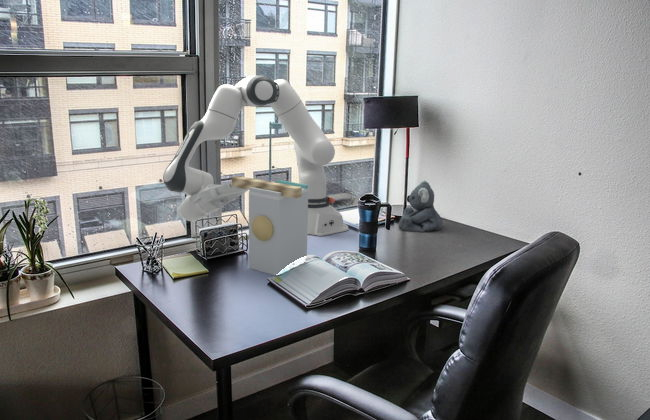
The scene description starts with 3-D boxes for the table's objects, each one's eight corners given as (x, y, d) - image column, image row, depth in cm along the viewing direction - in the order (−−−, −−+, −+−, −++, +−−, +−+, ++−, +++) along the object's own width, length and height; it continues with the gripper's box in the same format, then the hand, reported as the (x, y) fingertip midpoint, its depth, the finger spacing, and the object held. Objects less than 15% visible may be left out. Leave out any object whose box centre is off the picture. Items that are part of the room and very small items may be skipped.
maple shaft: (231, 186, 178) (231, 177, 177) (237, 184, 180) (237, 175, 179) (295, 198, 164) (296, 188, 164) (301, 196, 167) (301, 187, 166)
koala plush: (402, 220, 240) (405, 177, 235) (443, 224, 236) (447, 180, 231) (397, 231, 224) (400, 185, 219) (441, 235, 220) (445, 188, 215)
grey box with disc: (247, 268, 177) (246, 188, 170) (278, 254, 191) (279, 179, 184) (276, 277, 171) (276, 193, 164) (306, 262, 185) (308, 184, 178)
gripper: (187, 194, 177) (213, 179, 169) (229, 184, 194) (255, 169, 186) (194, 212, 177) (221, 197, 169) (236, 200, 194) (262, 186, 186)
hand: (239, 182), depth 178 cm, fingers open, 8 cm apart
